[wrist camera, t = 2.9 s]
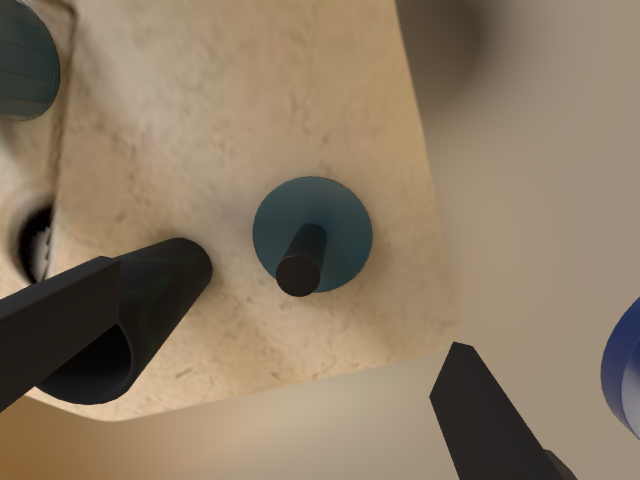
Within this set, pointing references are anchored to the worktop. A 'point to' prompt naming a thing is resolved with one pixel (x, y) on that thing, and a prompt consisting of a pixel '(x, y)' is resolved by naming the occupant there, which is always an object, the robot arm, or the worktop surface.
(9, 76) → the pot
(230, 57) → the worktop surface
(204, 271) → the cup
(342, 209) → the lid
